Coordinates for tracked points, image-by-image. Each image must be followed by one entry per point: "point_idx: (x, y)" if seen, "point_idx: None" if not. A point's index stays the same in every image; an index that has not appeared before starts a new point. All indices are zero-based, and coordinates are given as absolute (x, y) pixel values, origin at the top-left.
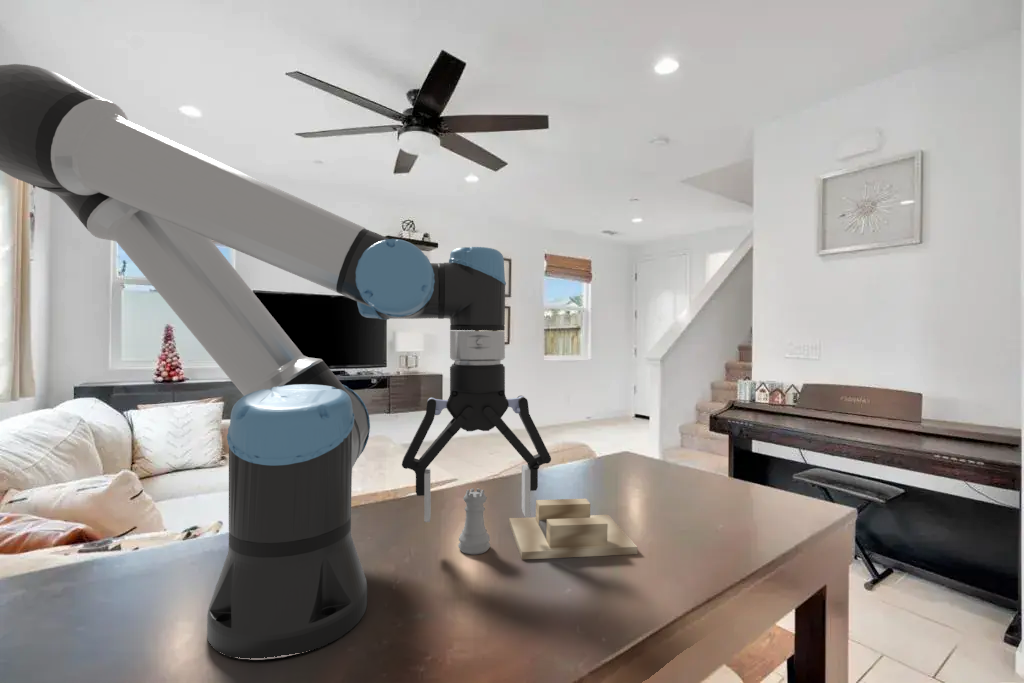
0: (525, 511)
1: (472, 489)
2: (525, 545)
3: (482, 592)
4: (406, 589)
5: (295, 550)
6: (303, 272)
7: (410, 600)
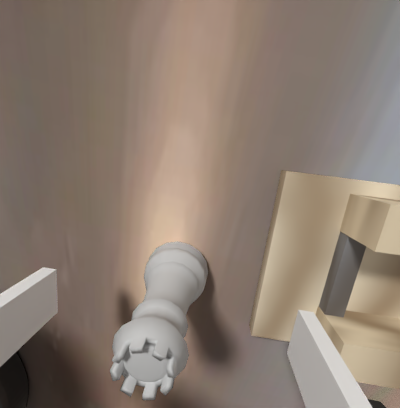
0: (293, 368)
1: (135, 352)
2: (268, 314)
3: None
4: (71, 355)
5: None
6: None
7: (78, 378)
